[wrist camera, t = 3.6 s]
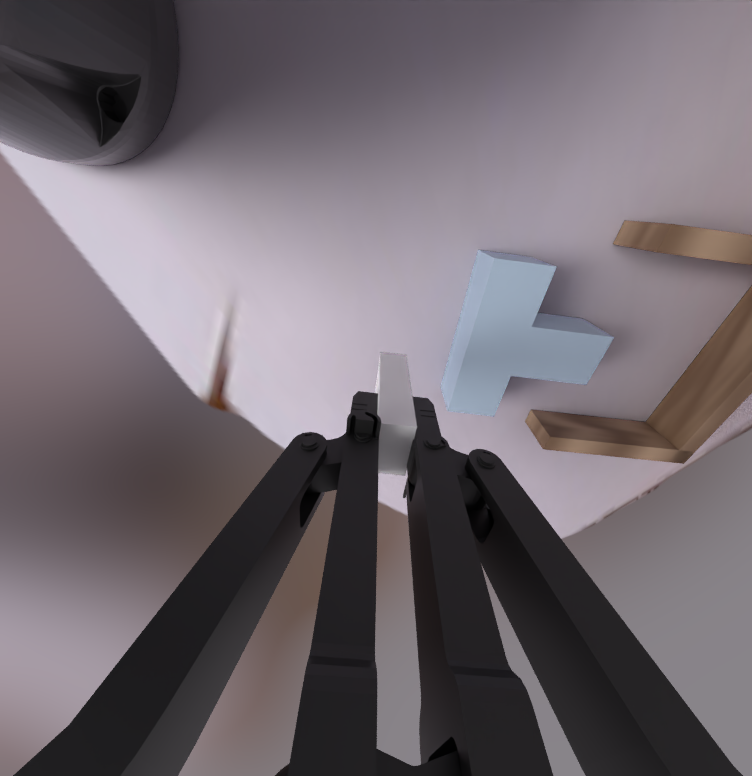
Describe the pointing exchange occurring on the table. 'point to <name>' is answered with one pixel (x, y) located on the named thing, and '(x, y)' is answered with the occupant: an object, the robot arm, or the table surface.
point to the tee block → (514, 335)
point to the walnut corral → (694, 388)
